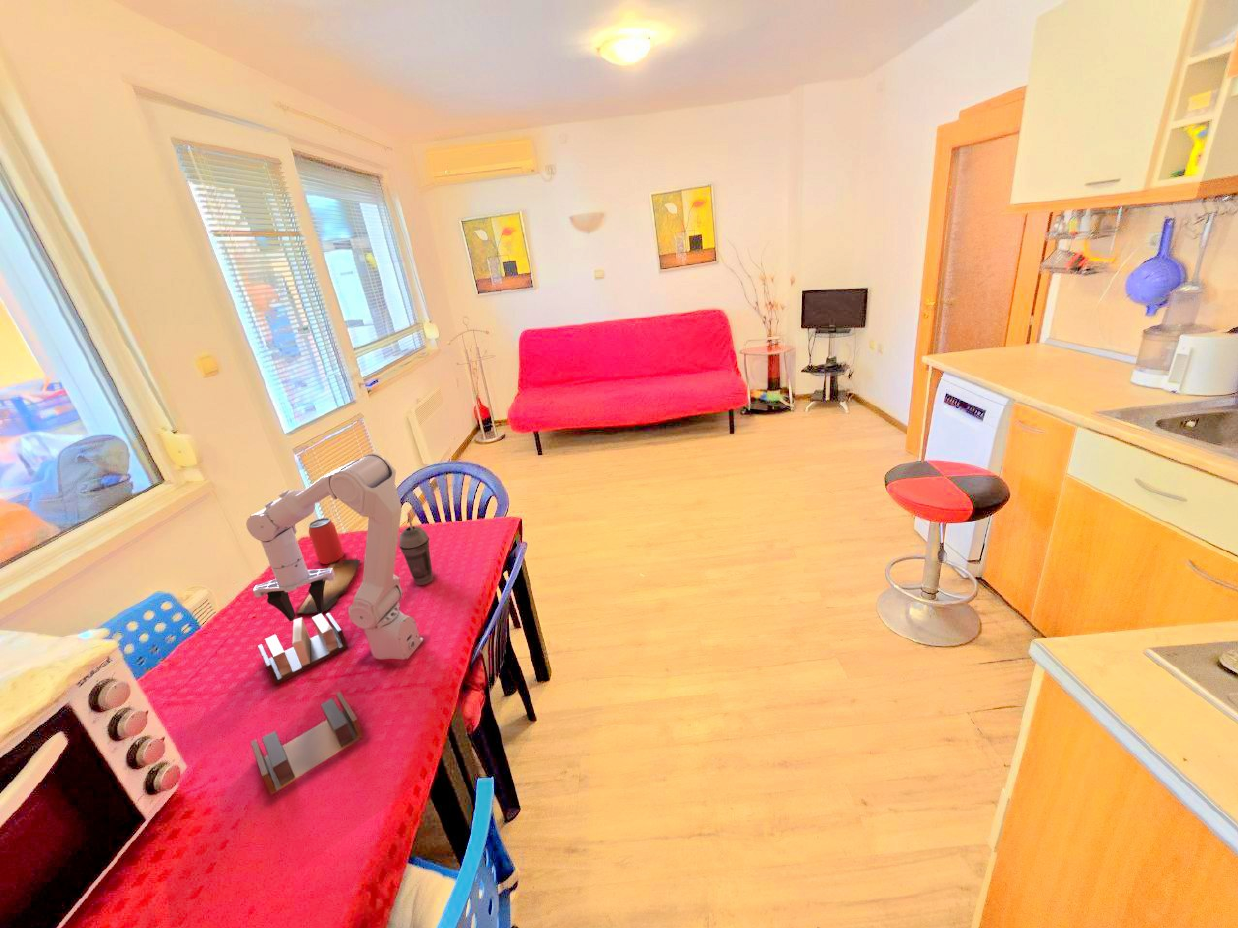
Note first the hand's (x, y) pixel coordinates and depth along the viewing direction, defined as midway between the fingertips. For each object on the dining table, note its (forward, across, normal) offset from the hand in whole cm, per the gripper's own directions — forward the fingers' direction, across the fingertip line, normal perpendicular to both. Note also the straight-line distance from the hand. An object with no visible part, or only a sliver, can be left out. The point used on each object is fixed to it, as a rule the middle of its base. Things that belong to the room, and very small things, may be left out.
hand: (307, 614), depth 108 cm
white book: (+7, -2, -3) cm, 8 cm away
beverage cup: (+9, +22, +16) cm, 29 cm away
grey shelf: (+8, +4, -30) cm, 32 cm away
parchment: (+8, -1, +25) cm, 26 cm away
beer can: (+8, -4, +41) cm, 42 cm away
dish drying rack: (+8, -2, -3) cm, 9 cm away
